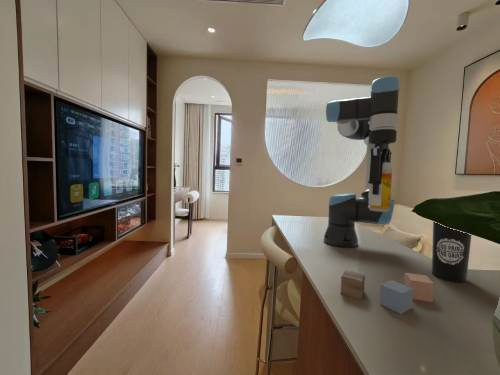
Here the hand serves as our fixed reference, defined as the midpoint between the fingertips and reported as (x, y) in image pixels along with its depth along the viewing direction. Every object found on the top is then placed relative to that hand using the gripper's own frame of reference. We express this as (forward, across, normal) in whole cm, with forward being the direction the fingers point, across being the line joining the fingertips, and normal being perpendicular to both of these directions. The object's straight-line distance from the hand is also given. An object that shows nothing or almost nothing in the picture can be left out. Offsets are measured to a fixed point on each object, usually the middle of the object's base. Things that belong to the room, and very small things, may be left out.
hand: (378, 204), depth 74 cm
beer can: (+2, 0, 0) cm, 2 cm away
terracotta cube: (+23, +6, +12) cm, 27 cm away
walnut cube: (+23, +17, -1) cm, 29 cm away
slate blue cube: (+23, +16, +9) cm, 29 cm away
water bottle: (+23, -16, +17) cm, 33 cm away
